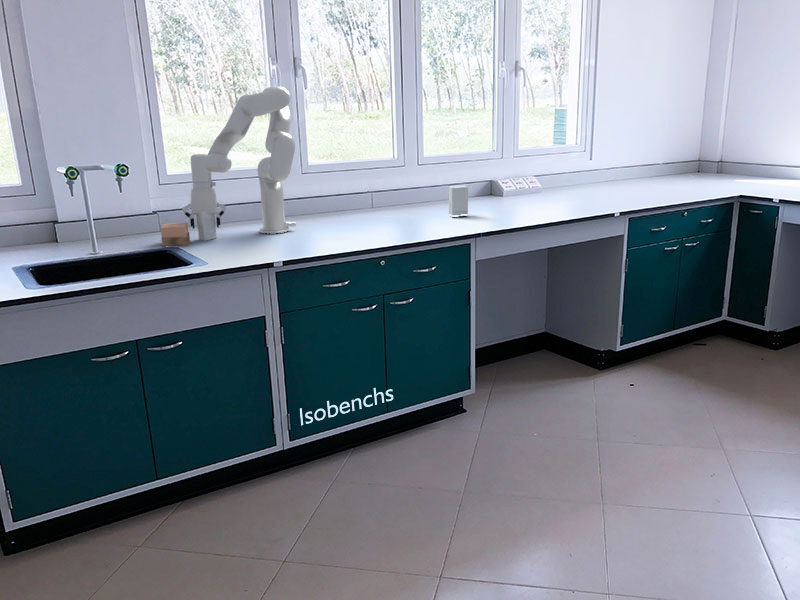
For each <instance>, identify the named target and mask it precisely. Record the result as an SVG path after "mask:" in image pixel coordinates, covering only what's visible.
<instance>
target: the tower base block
mask: <svg viewBox="0 0 800 600" xmlns="http://www.w3.org/2000/svg"><path fill="white" fill-rule="evenodd" d="M161 245H162V248H167V247H166V246H177V247H189V246H190V245H191V236H190V232H189V231H188V234H187V236H186V237H171V238H162V237H161Z"/></svg>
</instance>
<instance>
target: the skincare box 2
mask: <svg viewBox="0 0 800 600" xmlns="http://www.w3.org/2000/svg"><path fill="white" fill-rule="evenodd" d="M449 214H451V215H461V214H468V215H469V187H468V186H466V185H464V184H462V185H450V186H448V215H449Z"/></svg>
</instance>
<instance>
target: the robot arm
mask: <svg viewBox="0 0 800 600" xmlns="http://www.w3.org/2000/svg"><path fill="white" fill-rule="evenodd" d="M290 103H291V94H290V92H289V90H288V89H286V88H285V87H283V86H268V87H266V88H264V89H263V91H261V92H258V93H255V94H244V95H242V96H240V97H239V99H238V100H237V102H236V104H235V106H234V108H233V110H232V112H231V114H230V116H229V118H228V120H227V122H226V124H225V126H224V127H223V129H222V130H221V131H220V132H219V134H218V135H217V137H216V138H215V139H214V141H213V143H212V144H211V147H210V148H209V151H208V153H207V154H205V153H203V154H202V153H196V154H192V155H191V156H190V169H191V170H190V171H191V181H192V188H191V190H190V203H188V204H187V205H185V206H183V207H182V208H181V210H182V212H183V213H184V215H185V216H186V217H187V218H189V221H190V222H189V223H190V227H192V229H195V218H194V217H195V215H196V214H199V212H200V211H206V213H207V214H213V213H214V216H216V217H215V219H216V220H215V221H216V228H218V229H219V227H220V226H221V217H222V216H224V214H225V212H226V209H227V206H226V205H223V204H221V203H219V202H217V195H216V191H215V188H213V187H216V182H214V181H212V179H213V178H212V173H220V174H221V173H226V172H228V171H229V170H231V168H232V164H233V163H232V160H231V158H230V157H229V156H228V155H229V153H230V151H231V150H232V149H233V147H234V146H235V145H236V144H237V143H239V142H240V141H242V140H243V139H244V138H245V137H246V135H247V133H248V131H249V128H250V127H251V125H252V123H253V120H254V119H255V117H260V116H264V115H268V114H269V115H270V117H269V125H268V130H267V133H266V138H265V143H264V145H265V150H266V151H267V152H268V153H269V154H270V156H267V157H264V158H262V159H260V161H259V162H258V164H257V168H256V169H257V177H258V181H259V189H260V203H261V217H262V218H261V220H262V227H260V228H259V233H260V234H265V233H267V234H268V235H271V234H272V235H275V234H276V233H278V234H283V233H284V232H285V233H286V232H287V231H288V232H289V231H290V229H289V227H296V226H297V223H296V221H286V218H285V201H284V200H285V199H284V187H283V182H284V181H286V180H287V179H288V177H289V175H290V173H291V170H292V165H293V160H294V157H295V153H296V152H295V151H296V142H295V140H294V138H293V136H292V135H291V134H289V133H290V128H291V123H292V122H291V121H292V120H291V119H292V118H291V116H292V115H291V110H290V109H289V104H290ZM218 207H219V208H220V209H221V211H220V212H218ZM188 209H191V213H189V212H188ZM269 233H270V234H269ZM267 234H266V235H267Z"/></svg>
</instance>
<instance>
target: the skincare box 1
mask: <svg viewBox="0 0 800 600" xmlns="http://www.w3.org/2000/svg"><path fill="white" fill-rule="evenodd" d="M195 215H196V222H197V223H196V224H197V231H198V234H197V235H198V239H199V240H200V241H204V242H205V241H210V240H215V239H217V238H218V237H217V229H216V228H217V225H216V220H215V219H216V217H215V216H216V215H215V214H214V213H213V214H207V213H206V211H200V212H199V214H195Z"/></svg>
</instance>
